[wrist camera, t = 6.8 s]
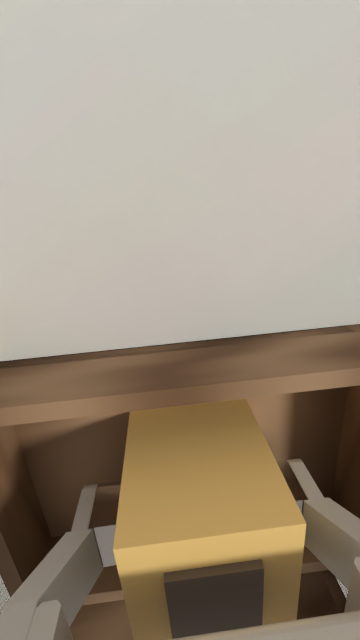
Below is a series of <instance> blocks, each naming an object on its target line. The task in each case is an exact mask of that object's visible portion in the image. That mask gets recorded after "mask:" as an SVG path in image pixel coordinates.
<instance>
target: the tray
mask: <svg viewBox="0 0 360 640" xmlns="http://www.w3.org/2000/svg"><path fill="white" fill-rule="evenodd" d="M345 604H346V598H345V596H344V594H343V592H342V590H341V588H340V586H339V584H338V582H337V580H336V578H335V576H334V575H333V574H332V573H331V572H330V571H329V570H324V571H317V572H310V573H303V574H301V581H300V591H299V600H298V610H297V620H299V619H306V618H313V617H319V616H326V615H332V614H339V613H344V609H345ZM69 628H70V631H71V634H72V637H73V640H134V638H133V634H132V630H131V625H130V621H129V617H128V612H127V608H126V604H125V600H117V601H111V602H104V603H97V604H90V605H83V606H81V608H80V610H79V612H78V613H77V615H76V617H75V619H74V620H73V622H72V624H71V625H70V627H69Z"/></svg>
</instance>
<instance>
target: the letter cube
mask: <svg viewBox="0 0 360 640" xmlns="http://www.w3.org/2000/svg"><path fill="white" fill-rule="evenodd" d="M305 533H306V522H305V520H304V517H303V515H302V513H301V511H300V509H299V507H298V505H297V503H296V501H295V499H294V497H293V495H292V493H291V491H290V489H289V487H288V484H287V482H286V480H285V478H284V476H283V474H282V472H281V470H280V468H279V466H278V464H277V462H276V460H275V458H274V456H273V453H272V451H271V449H270V447H269V445H268V443H267V441H266V439H265V437H264V435H263V433H262V431H261V429H260V427H259V425H258V423H257V420H256V418H255V416H254V414H253V412H252V410H251V408H250V406H249V404H248V402H247V400H246V398H245V399H236V400H227V401H219V402H210V403H201V404H192V405H184V406H175V407H166V408H158V409H149V410H140V411H131V412H130V414H129V423H128V431H127V439H126V447H125V455H124V463H123V472H122V480H121V488H120V496H119V504H118V512H117V520H116V529H115V537H114V545H113V552H114V557H115V561H116V565H117V570H118V574H119V578H120V582H121V587H122V591H123V595H124V600H125V604H126V608H127V612H128V617H129V621H130V625H131V630H132V634H133V638H134V640H168V639H175V638H181V637H188V636H194V635H201V634H207V633H214V632H220V631H227V630H233V629H240V628H247V627H253V626H260V625H266V624H273V623H280V622H286V621H293V620H297V610H298V600H299V591H300V581H301V571H302V562H303V552H304V542H305Z"/></svg>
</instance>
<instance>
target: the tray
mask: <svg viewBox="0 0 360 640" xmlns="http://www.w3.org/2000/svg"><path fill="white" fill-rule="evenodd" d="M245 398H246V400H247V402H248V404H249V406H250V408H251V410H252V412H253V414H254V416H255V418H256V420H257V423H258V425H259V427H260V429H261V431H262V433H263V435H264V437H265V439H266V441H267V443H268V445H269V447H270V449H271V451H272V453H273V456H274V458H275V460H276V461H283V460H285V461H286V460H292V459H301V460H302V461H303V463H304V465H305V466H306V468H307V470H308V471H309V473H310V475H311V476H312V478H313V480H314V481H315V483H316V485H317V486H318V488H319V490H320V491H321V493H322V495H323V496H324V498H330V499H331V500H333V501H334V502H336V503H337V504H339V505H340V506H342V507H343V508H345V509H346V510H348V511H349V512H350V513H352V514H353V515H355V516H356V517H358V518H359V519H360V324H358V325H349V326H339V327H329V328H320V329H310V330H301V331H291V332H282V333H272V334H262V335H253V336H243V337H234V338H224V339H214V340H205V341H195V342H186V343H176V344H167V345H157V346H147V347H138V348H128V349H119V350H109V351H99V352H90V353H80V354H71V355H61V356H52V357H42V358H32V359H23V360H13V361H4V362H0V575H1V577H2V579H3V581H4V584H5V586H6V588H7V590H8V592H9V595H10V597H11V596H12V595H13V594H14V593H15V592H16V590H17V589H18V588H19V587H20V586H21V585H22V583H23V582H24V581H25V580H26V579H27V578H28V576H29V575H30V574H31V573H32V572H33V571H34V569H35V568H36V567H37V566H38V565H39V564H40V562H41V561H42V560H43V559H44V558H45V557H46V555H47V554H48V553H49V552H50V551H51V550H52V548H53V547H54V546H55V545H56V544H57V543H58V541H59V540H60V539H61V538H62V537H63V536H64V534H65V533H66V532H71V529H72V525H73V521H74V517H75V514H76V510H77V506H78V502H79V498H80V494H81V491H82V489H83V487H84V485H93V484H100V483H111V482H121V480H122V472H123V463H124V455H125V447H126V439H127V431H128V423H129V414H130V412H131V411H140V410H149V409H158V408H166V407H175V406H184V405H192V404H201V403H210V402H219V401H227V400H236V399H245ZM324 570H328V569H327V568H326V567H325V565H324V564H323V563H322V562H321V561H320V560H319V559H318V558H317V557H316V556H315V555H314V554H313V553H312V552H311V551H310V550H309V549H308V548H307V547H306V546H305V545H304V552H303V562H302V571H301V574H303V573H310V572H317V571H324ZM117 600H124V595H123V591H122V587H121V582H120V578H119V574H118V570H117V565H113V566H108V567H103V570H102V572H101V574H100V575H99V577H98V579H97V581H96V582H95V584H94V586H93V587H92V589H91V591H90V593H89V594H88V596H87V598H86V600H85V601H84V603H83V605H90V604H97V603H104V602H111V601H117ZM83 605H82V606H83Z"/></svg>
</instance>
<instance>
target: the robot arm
mask: <svg viewBox="0 0 360 640" xmlns="http://www.w3.org/2000/svg"><path fill="white" fill-rule="evenodd" d="M276 462H277V464H278V466H279V468H280V470H281V472H282V474H283V476H284V478H285V480H286V482H287V484H288V487H289V489H290V491H291V493H292V495H293V497H294V499H295V501H296V503H297V505H298V507H299V509H300V511H301V513H302V515H303V517H304V520H305V522H306V533H305V542H304V545H305V546H306V547H307V548H308V549H309V550H310V551H311V552H312V553H313V554H314V555H315V556H316V557H317V558H318V559H319V560H320V561H321V562H322V563H323V564H324V565H325V567H326V568H327V569H328V570H329V571H330V572H331V573H332V574H333V575H334V576H335V577H336V578H337V579H338V580H339V581H340V582H341V583H342V584H343V585H344V586H345V587H346V588H347V589H348V595H347V600H346V604H345V609H344V613H339V614H332V615H326V616H319V617H313V618H306V619H299V620H293V621H286V622H280V623H273V624H266V625H260V626H253V627H247V628H240V629H233V630H227V631H220V632H214V633H207V634H201V635H194V636H188V637H181V638H175V639H168V640H360V519H359V518H358V517H356V516H355V515H353V514H352V513H350V512H349V511H348V510H346V509H345V508H343V507H342V506H340V505H339V504H337V503H336V502H334V501H333V500H331V499H330V498H324V496H323V495H322V493H321V491H320V490H319V488H318V486H317V485H316V483H315V481H314V480H313V478H312V476H311V475H310V473H309V471H308V470H307V468H306V466H305V465H304V463H303V461H302V460H301V459H292V460H286V461H285V460H283V461H276ZM120 488H121V482H111V483H100V484H93V485H84V487H83V489H82V491H81V494H80V498H79V502H78V506H77V510H76V514H75V517H74V521H73V525H72V529H71V532H66V533H65V534H64V536H63V537H62V538H61V539H60V540H59V541H58V543H57V544H56V545H55V546H54V547H53V548H52V550H51V551H50V552H49V553H48V554H47V555H46V557H45V558H44V559H43V560H42V561H41V562H40V564H39V565H38V566H37V567H36V568H35V569H34V571H33V572H32V573H31V574H30V575H29V576H28V578H27V579H26V580H25V581H24V582H23V583H22V585H21V586H20V587H19V588H18V589H17V590H16V592H15V593H14V594H13V595H12V596H11V597H10V599H9V600H8V601H7V602H6V603H5V605H4V606H3V608H2V611H1V614H0V640H73V637H72V634H71V631H70V628H69V627H70V625H71V624H72V622H73V620H74V619H75V617H76V615H77V613H78V612H79V610H80V608H81V606H82V605H83V603H84V601H85V600H86V598H87V596H88V594H89V593H90V591H91V589H92V587H93V586H94V584H95V582H96V581H97V579H98V577H99V575H100V574H101V572H102V570H103V567H108V566H113V565H116V561H115V557H114V552H113V545H114V537H115V529H116V520H117V512H118V504H119V496H120Z"/></svg>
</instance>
